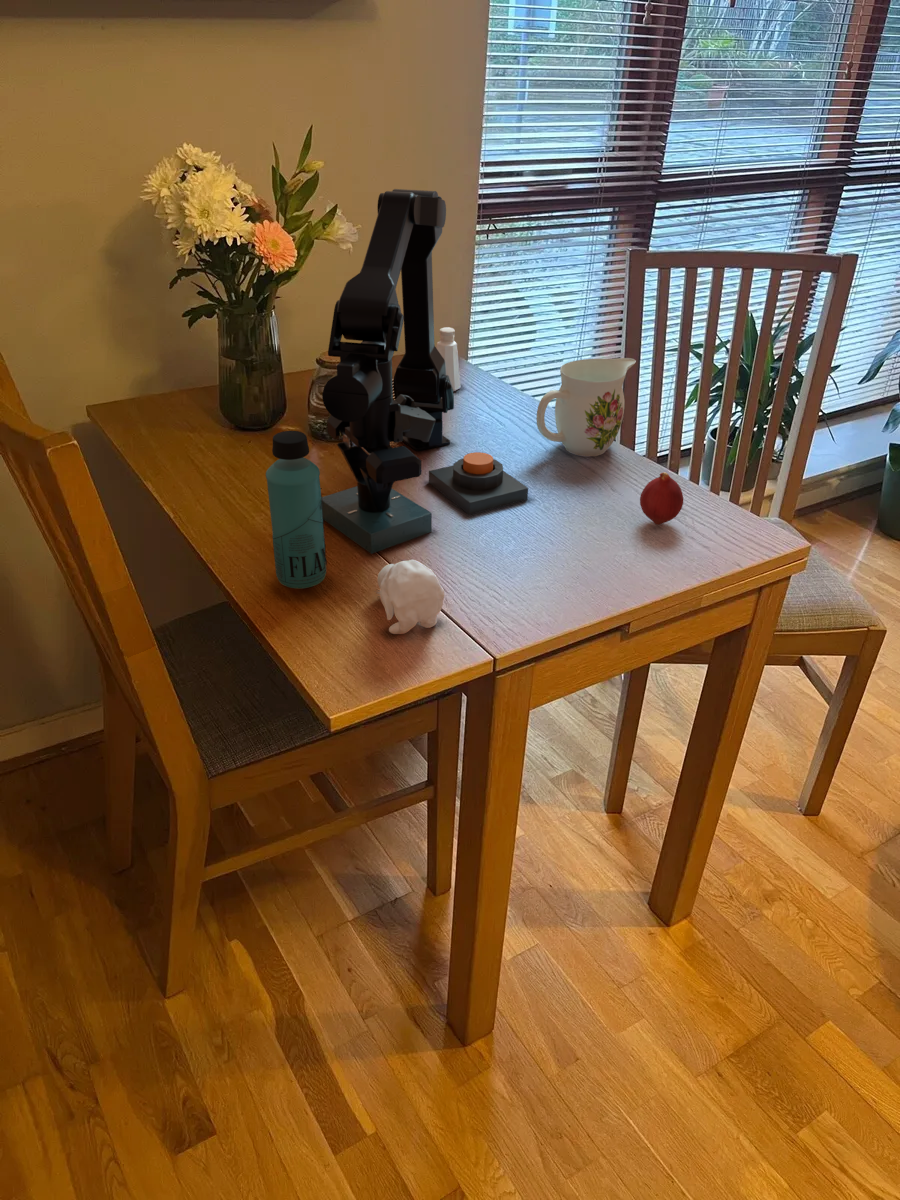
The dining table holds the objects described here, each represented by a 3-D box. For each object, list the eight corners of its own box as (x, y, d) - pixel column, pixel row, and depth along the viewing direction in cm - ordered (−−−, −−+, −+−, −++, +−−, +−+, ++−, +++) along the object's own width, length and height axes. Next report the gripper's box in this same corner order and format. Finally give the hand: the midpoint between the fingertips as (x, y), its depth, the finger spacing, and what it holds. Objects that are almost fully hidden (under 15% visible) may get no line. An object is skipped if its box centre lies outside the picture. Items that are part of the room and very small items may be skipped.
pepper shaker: (429, 391, 172) (429, 332, 166) (434, 381, 177) (435, 323, 171) (458, 393, 171) (459, 334, 165) (462, 383, 176) (464, 325, 170)
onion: (653, 510, 133) (660, 459, 129) (687, 524, 130) (696, 472, 125) (629, 523, 130) (636, 471, 125) (663, 538, 126) (671, 485, 122)
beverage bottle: (286, 604, 111) (271, 451, 100) (269, 579, 116) (252, 430, 105) (336, 592, 114) (327, 441, 103) (317, 567, 118) (306, 420, 108)
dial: (354, 510, 125) (352, 481, 123) (363, 496, 129) (362, 468, 127) (385, 513, 125) (384, 485, 122) (394, 499, 128) (393, 471, 126)
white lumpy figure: (393, 580, 99) (359, 539, 109) (397, 648, 103) (364, 602, 113) (447, 569, 101) (409, 529, 111) (449, 636, 105) (412, 592, 115)
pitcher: (516, 447, 151) (520, 366, 144) (604, 428, 159) (613, 349, 151) (554, 473, 143) (560, 388, 136) (645, 451, 151) (656, 369, 143)
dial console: (319, 517, 130) (318, 497, 128) (378, 497, 135) (377, 478, 134) (371, 554, 122) (370, 533, 120) (431, 532, 127) (431, 511, 125)
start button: (457, 466, 136) (457, 455, 135) (482, 460, 138) (483, 449, 137) (473, 478, 133) (473, 466, 132) (498, 471, 135) (499, 460, 134)
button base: (428, 482, 140) (428, 458, 138) (484, 469, 144) (485, 445, 142) (469, 515, 131) (470, 490, 129) (527, 500, 135) (529, 475, 133)
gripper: (459, 407, 114) (457, 519, 123) (398, 362, 128) (400, 465, 136) (376, 422, 110) (379, 536, 118) (322, 373, 124) (329, 479, 132)
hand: (374, 502), depth 126 cm, fingers closed on dial, 4 cm apart
